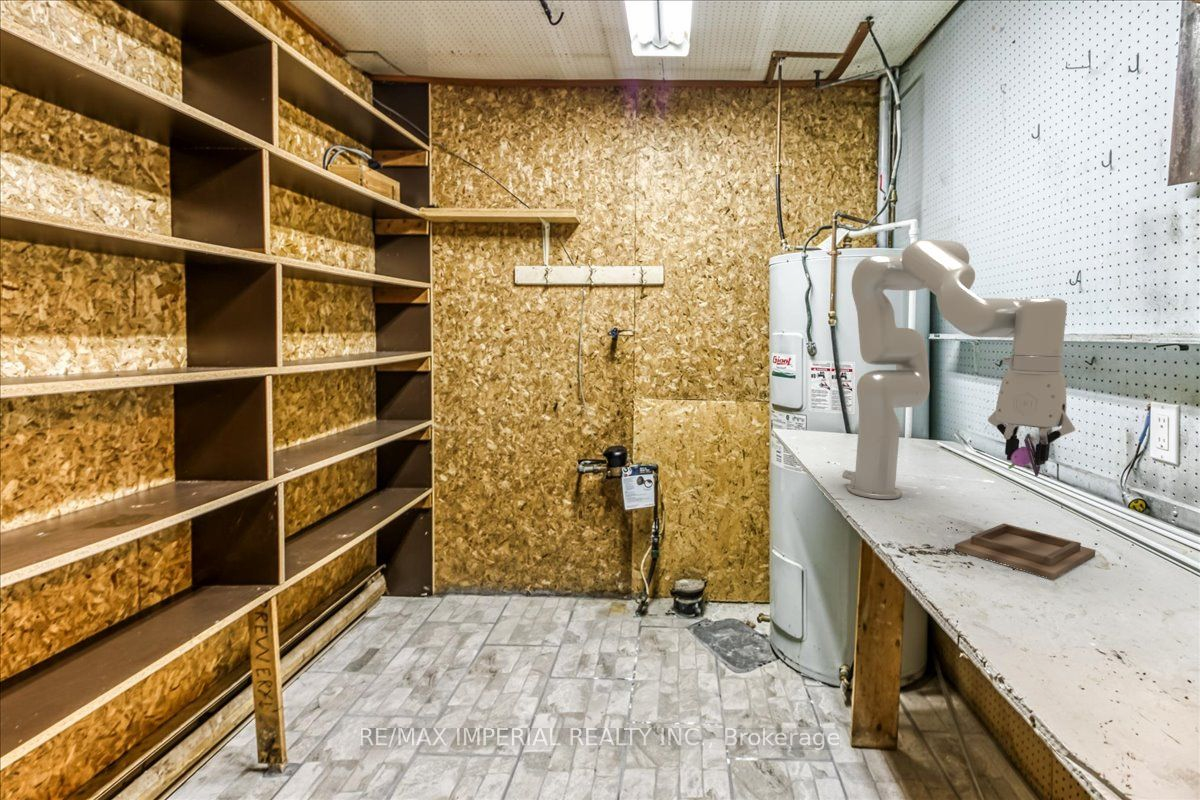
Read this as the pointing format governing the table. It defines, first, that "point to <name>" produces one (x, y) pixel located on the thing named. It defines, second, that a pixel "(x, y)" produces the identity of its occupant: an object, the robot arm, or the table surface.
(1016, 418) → the robot arm
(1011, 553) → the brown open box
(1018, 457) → the purple figure with panel
